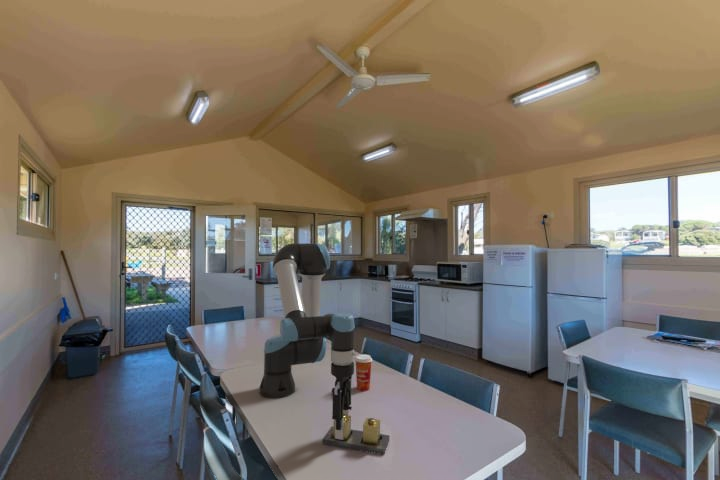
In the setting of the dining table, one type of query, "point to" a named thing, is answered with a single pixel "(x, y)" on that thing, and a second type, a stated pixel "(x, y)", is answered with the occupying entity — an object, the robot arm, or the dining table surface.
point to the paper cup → (363, 372)
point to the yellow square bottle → (345, 428)
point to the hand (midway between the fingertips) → (342, 434)
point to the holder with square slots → (362, 438)
